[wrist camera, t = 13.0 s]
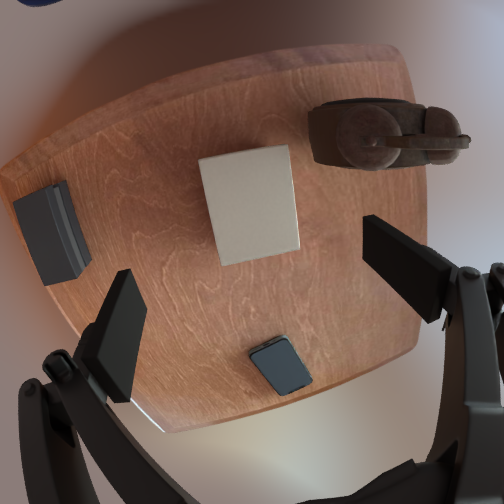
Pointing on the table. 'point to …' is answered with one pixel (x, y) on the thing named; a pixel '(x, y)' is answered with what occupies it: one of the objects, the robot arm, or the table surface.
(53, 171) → the table surface
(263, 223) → the light grey rectangular slab
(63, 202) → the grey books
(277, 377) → the smartphone
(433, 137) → the alarm clock
